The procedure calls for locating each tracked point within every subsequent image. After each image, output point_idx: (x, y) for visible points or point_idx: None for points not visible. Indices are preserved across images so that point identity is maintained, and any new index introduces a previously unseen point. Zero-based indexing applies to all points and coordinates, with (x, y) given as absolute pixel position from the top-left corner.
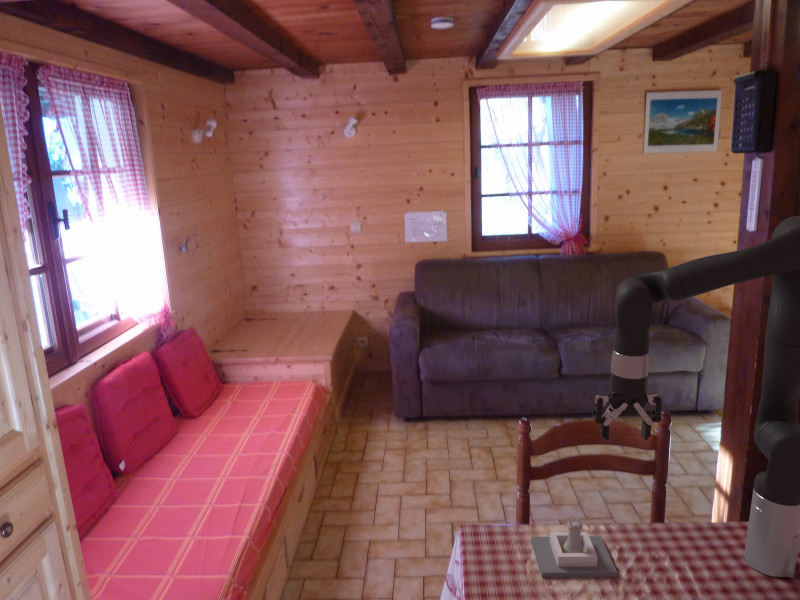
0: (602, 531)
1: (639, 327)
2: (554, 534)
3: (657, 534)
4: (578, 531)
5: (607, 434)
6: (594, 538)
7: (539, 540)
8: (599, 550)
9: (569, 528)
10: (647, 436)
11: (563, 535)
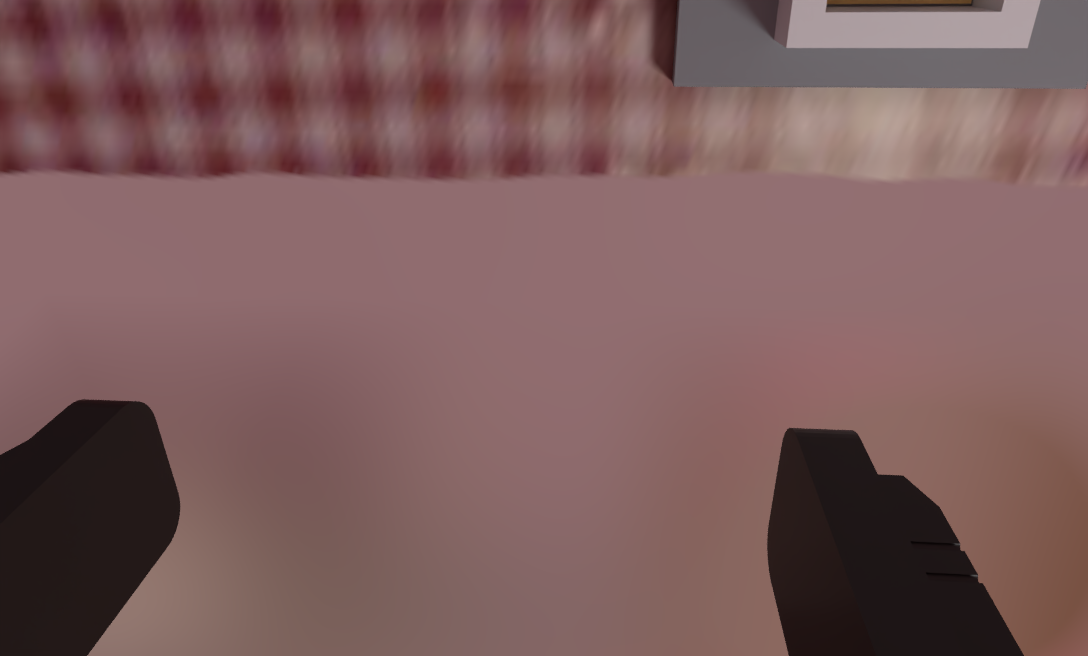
0: (632, 161)
1: None
2: (1008, 23)
3: (358, 130)
4: None
5: (860, 509)
6: (715, 67)
7: (1054, 50)
8: None
9: None
10: (46, 433)
11: (952, 12)
